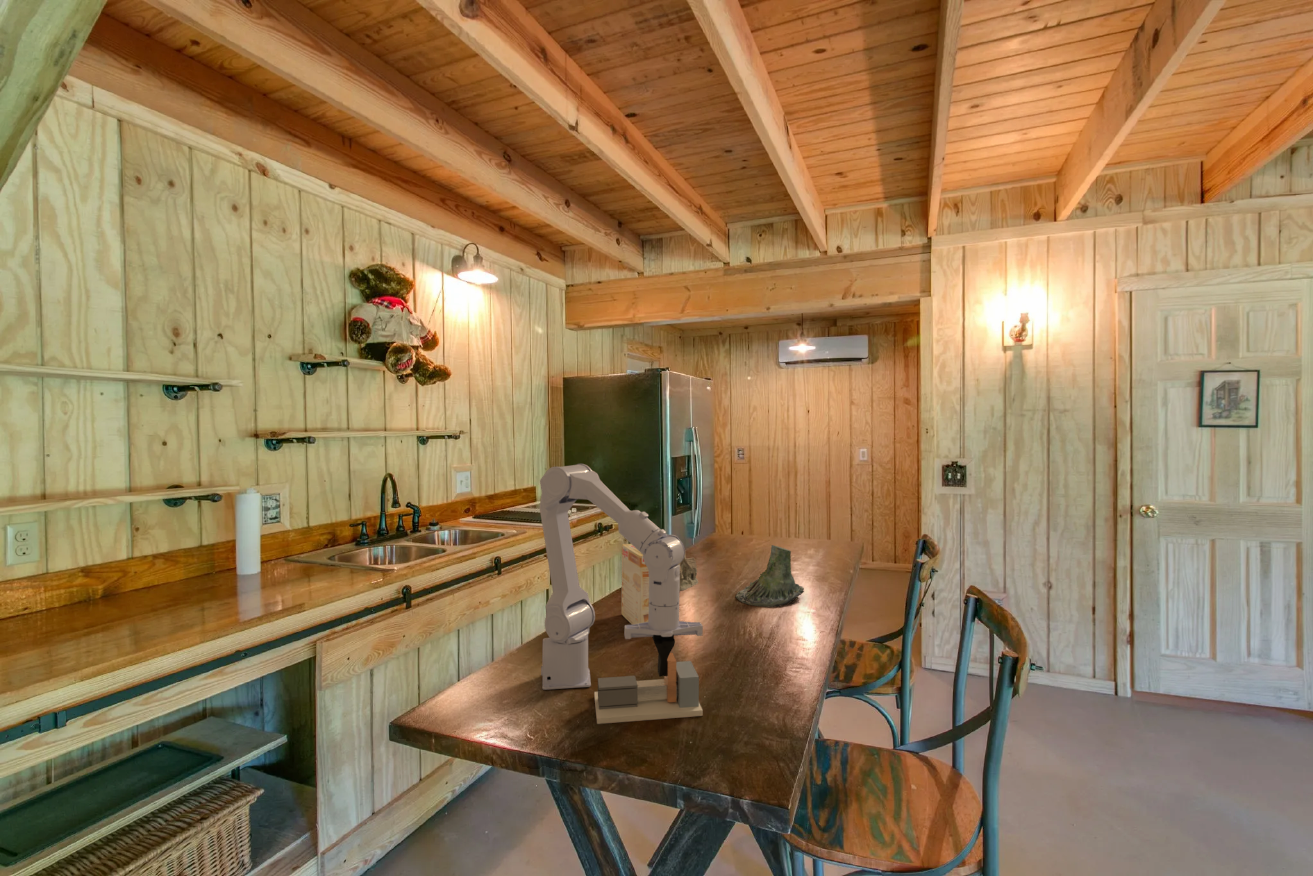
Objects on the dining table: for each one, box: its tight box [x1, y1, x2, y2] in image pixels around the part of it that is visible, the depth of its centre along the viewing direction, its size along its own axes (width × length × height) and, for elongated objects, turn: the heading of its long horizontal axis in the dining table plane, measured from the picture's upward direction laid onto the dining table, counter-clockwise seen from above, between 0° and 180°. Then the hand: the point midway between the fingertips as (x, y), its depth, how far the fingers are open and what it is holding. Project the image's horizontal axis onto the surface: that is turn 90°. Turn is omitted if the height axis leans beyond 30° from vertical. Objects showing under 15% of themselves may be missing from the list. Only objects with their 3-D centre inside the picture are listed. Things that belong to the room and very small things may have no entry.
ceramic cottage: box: [674, 552, 699, 592], centre depth 189 cm, size 16×16×15 cm
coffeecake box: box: [621, 543, 649, 625], centre depth 154 cm, size 15×7×20 cm, turn 22°
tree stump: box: [735, 544, 805, 608], centre depth 176 cm, size 18×20×18 cm
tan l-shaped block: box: [636, 652, 678, 702], centre depth 109 cm, size 12×4×8 cm, turn 99°
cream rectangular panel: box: [593, 675, 704, 725], centre depth 109 cm, size 19×10×5 cm, turn 99°
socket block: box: [676, 660, 700, 708], centre depth 110 cm, size 4×7×6 cm, turn 9°
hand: (663, 674), depth 109 cm, fingers closed, pressing on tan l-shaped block
